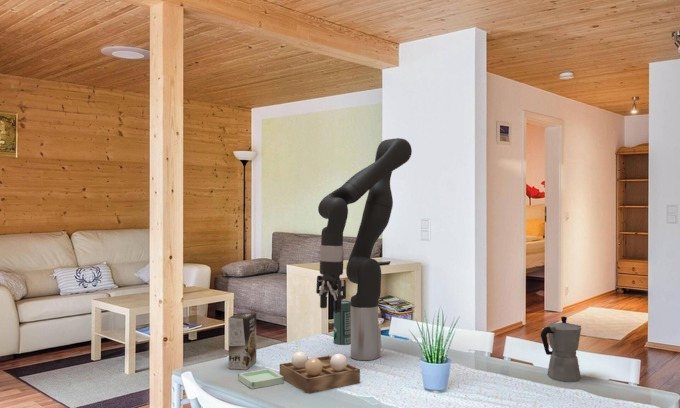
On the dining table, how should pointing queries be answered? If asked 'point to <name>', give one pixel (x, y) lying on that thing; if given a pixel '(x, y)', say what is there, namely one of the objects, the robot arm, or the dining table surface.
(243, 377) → the dish
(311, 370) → the brown egg
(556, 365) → the coffeepot
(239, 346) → the coffee box
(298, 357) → the white egg
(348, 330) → the can
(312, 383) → the egg tray
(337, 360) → the white egg
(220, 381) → the dining table surface
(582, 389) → the dining table surface
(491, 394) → the dining table surface
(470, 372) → the dining table surface
